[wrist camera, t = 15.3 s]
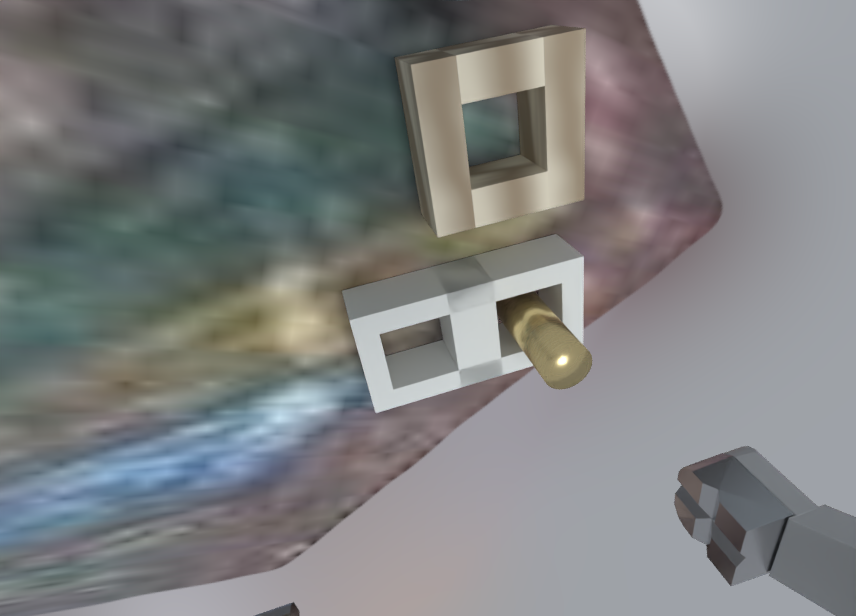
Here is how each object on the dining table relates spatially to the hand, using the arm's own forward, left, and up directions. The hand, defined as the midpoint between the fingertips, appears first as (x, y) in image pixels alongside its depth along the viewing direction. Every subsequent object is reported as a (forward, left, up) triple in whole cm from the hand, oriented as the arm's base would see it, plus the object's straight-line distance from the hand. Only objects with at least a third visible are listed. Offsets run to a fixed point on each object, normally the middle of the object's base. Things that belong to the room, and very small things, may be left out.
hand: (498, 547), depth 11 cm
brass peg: (+13, -17, -34) cm, 40 cm away
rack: (+8, -17, -34) cm, 39 cm away
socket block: (+12, -1, -34) cm, 36 cm away
